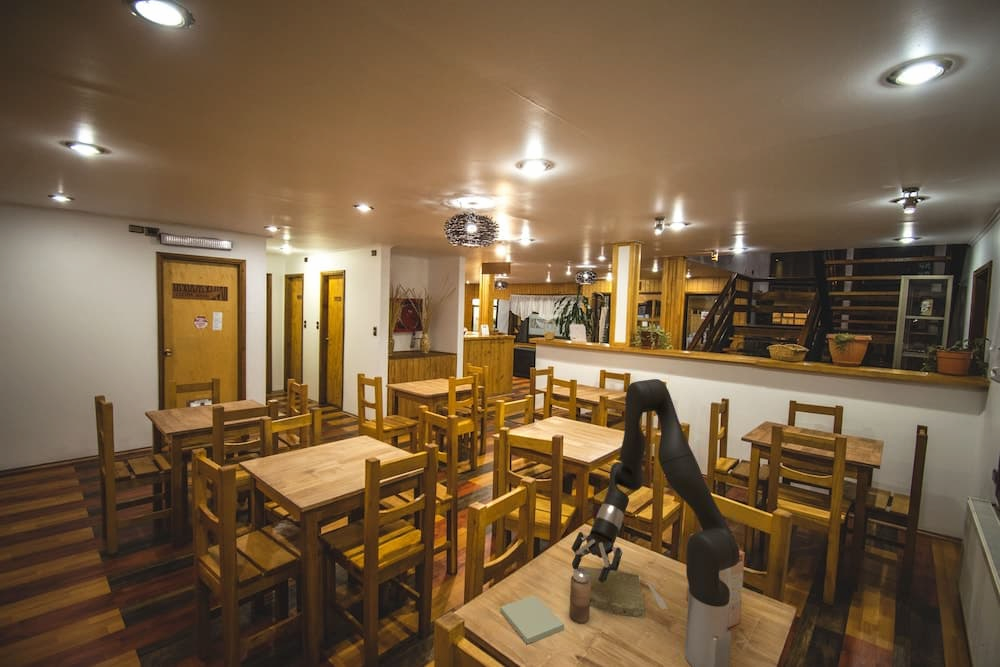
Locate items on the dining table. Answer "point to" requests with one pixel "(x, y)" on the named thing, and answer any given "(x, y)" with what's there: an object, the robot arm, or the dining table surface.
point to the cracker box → (732, 589)
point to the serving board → (531, 619)
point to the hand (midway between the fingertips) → (587, 575)
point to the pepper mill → (580, 596)
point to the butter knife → (657, 597)
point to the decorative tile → (616, 592)
